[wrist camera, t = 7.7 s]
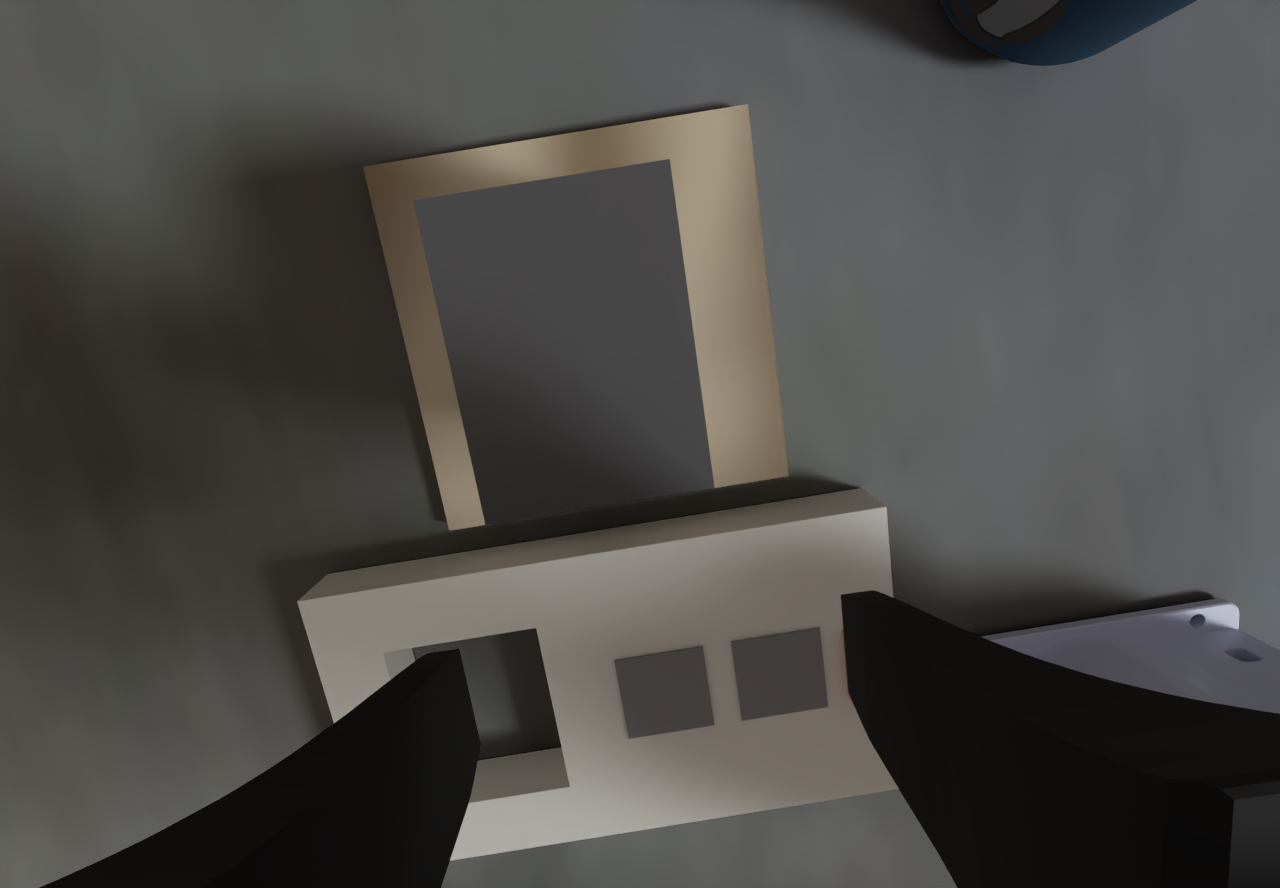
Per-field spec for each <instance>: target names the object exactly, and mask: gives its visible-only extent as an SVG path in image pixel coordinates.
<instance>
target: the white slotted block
mask: <svg viewBox="0 0 1280 888" xmlns="http://www.w3.org/2000/svg"><path fill="white" fill-rule="evenodd" d="M870 590H875V591H878V592H881V593H883V594H886V595H888V596H890V597H893V587H892V574H891V560H890V547H889V534H888V520H887V507H886V506H885V505H883V504H882V503H881V502H879V501H878V500H877V499H875V498H874V497H873V496H871V495H870V494H869V493H867V492H866V491H864V490H863V489H862V488H859V489H852V490H846V491H840V492H834V493H828V494H821V495H815V496H809V497H803V498H797V499H790V500H784V501H778V502H772V503H765V504H759V505H753V506H747V507H741V508H734V509H728V510H722V511H716V512H710V513H703V514H697V515H691V516H685V517H678V518H672V519H666V520H660V521H654V522H647V523H641V524H635V525H629V526H623V527H616V528H610V529H604V530H598V531H592V532H585V533H579V534H573V535H567V536H560V537H554V538H548V539H542V540H536V541H529V542H523V543H517V544H511V545H505V546H498V547H492V548H486V549H480V550H473V551H467V552H461V553H455V554H449V555H442V556H436V557H430V558H424V559H418V560H411V561H405V562H399V563H393V564H387V565H380V566H374V567H368V568H362V569H355V570H349V571H343V572H337V573H331V574H327V575H326V576H325V577H324V578H323V579H322V580H320V581H319V582H318V583H317V584H316V585H315V586H314V587H313V588H312V589H310V590H309V591H308V592H307V593H306V594H305V595H304V596H303V597H302V598H301V599H299V600H298V601H297V603H298V606H299V609H300V613H301V616H302V619H303V623H304V626H305V629H306V633H307V636H308V639H309V643H310V646H311V649H312V653H313V656H314V659H315V663H316V666H317V669H318V672H319V676H320V679H321V682H322V686H323V689H324V692H325V696H326V699H327V702H328V706H329V709H330V712H331V716H332V719H333V722H334V723H335V722H337V721H338V720H339V719H341V718H342V717H343V716H345V715H346V714H347V713H349V712H350V711H351V710H353V709H354V708H355V707H356V706H358V705H359V704H360V703H362V702H363V701H364V700H365V699H367V698H368V697H369V696H370V695H372V694H373V693H374V692H376V691H377V690H378V689H379V688H381V687H382V686H383V685H385V684H386V683H387V682H388V681H390V680H391V679H392V678H393V677H395V676H396V675H397V674H399V673H400V672H401V671H403V670H404V669H405V668H406V667H408V666H409V665H411V664H412V663H413V662H415V658H414V654H413V651H412V648H415V647H421V646H427V645H433V644H440V643H446V642H452V641H458V640H465V639H471V638H477V637H483V636H489V635H496V634H502V633H508V632H514V631H521V630H527V629H533V628H536V630H537V635H538V639H539V644H540V649H541V653H542V658H543V663H544V668H545V672H546V677H547V682H548V686H549V691H550V696H551V700H552V705H553V710H554V714H555V719H556V724H557V729H558V733H559V738H560V743H561V747H560V748H553V749H547V750H541V751H535V752H529V753H522V754H516V755H510V756H504V757H497V758H491V759H485V760H479V761H478V762H477V767H476V773H475V778H474V783H473V788H472V792H471V797H470V800H469V804H468V807H467V810H466V813H465V816H464V819H463V822H462V825H461V828H460V831H459V834H458V838H457V841H456V844H455V847H454V850H453V853H452V855H451V858H450V861H451V860H458V859H464V858H470V857H476V856H483V855H489V854H495V853H501V852H508V851H514V850H520V849H527V848H533V847H539V846H545V845H552V844H558V843H564V842H570V841H577V840H583V839H589V838H595V837H602V836H608V835H614V834H620V833H627V832H633V831H639V830H645V829H652V828H658V827H664V826H670V825H677V824H683V823H689V822H695V821H702V820H708V819H714V818H721V817H727V816H733V815H739V814H746V813H752V812H758V811H764V810H771V809H777V808H783V807H789V806H796V805H802V804H808V803H814V802H821V801H827V800H833V799H839V798H846V797H852V796H858V795H864V794H871V793H877V792H883V791H889V790H896V789H899V788H898V787H897V785H896V783H895V782H894V780H893V779H892V777H891V775H890V774H889V772H888V770H887V769H886V767H885V765H884V764H883V762H882V760H881V759H880V757H879V755H878V754H877V752H876V750H875V749H874V747H873V745H872V743H871V742H870V740H869V738H868V736H867V733H866V731H865V729H864V727H863V725H862V723H861V720H860V718H859V716H858V714H857V711H856V709H855V707H854V704H853V702H852V700H851V697H850V695H849V693H848V682H847V670H846V657H845V644H844V632H843V619H842V607H841V595H842V594H849V593H856V592H863V591H870Z"/></svg>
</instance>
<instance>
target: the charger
mask: <svg viewBox="0 0 1280 888" xmlns="http://www.w3.org/2000/svg"><path fill="white" fill-rule="evenodd" d="M413 202H414V207H415V211H416V216H417V220H418V225H419V229H420V234H421V238H422V243H423V247H424V252H425V256H426V261H427V265H428V270H429V274H430V279H431V283H432V288H433V292H434V297H435V301H436V306H437V310H438V315H439V319H440V324H441V328H442V332H443V337H444V341H445V346H446V350H447V355H448V359H449V364H450V368H451V373H452V377H453V382H454V386H455V391H456V395H457V400H458V404H459V409H460V413H461V418H462V422H463V427H464V431H465V436H466V440H467V445H468V449H469V454H470V458H471V463H472V467H473V472H474V476H475V481H476V485H477V490H478V494H479V499H480V503H481V508H482V512H483V517H484V521H485V525H488V524H494V523H500V522H507V521H513V520H519V519H525V518H532V517H538V516H544V515H550V514H556V513H563V512H569V511H575V510H581V509H588V508H594V507H600V506H606V505H613V504H619V503H625V502H631V501H638V500H644V499H650V498H656V497H663V496H669V495H675V494H681V493H687V492H694V491H700V490H706V489H712V488H715V487H714V480H713V472H712V465H711V458H710V450H709V443H708V436H707V428H706V421H705V414H704V406H703V399H702V392H701V384H700V377H699V370H698V362H697V355H696V348H695V340H694V333H693V326H692V318H691V311H690V304H689V296H688V289H687V282H686V274H685V267H684V260H683V252H682V245H681V238H680V230H679V223H678V216H677V208H676V201H675V194H674V186H673V179H672V172H671V164H670V159H666V160H660V161H653V162H647V163H641V164H635V165H629V166H622V167H616V168H610V169H604V170H598V171H591V172H585V173H579V174H573V175H567V176H560V177H554V178H548V179H542V180H536V181H529V182H523V183H517V184H511V185H505V186H499V187H492V188H486V189H480V190H474V191H468V192H461V193H455V194H449V195H443V196H437V197H430V198H424V199H418V200H413Z"/></svg>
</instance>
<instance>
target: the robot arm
mask: <svg viewBox="0 0 1280 888" xmlns="http://www.w3.org/2000/svg"><path fill="white" fill-rule="evenodd" d="M841 607H842V619H843V632H844V644H845V657H846V670H847V682H848V693H849V695H850V697H851V700H852V702H853V704H854V707H855V709H856V711H857V714H858V716H859V718H860V720H861V723H862V725H863V727H864V729H865V731H866V733H867V736H868V738H869V740H870V742H871V743H872V745H873V747H874V749H875V750H876V752H877V754H878V755H879V757H880V759H881V760H882V762H883V764H884V765H885V767H886V769H887V770H888V772H889V774H890V775H891V777H892V779H893V780H894V782H895V783H896V785H897V787H898V788H899V790H900V792H901V793H902V795H903V796H904V798H905V800H906V801H907V803H908V805H909V806H910V808H911V809H912V811H913V813H914V814H915V816H916V818H917V819H918V821H919V822H920V824H921V826H922V827H923V829H924V831H925V832H926V834H927V836H928V837H929V839H930V840H931V842H932V844H933V845H934V847H935V849H936V850H937V852H938V853H939V855H940V857H941V859H942V861H943V862H944V864H945V866H946V868H947V869H948V871H949V873H950V875H951V877H952V878H953V880H954V882H955V884H956V886H957V888H1280V651H1279V650H1277V649H1275V648H1273V647H1271V646H1269V645H1268V644H1266V643H1264V642H1262V641H1260V640H1258V639H1256V638H1254V637H1252V636H1250V635H1248V634H1246V633H1244V632H1242V631H1240V630H1238V628H1239V609H1238V607H1237V606H1236V605H1235V604H1233V603H1231V602H1229V601H1227V600H1224V599H1212V600H1206V601H1199V602H1193V603H1187V604H1181V605H1174V606H1168V607H1162V608H1156V609H1149V610H1143V611H1137V612H1131V613H1124V614H1118V615H1112V616H1106V617H1100V618H1093V619H1087V620H1081V621H1075V622H1068V623H1062V624H1056V625H1050V626H1043V627H1037V628H1031V629H1025V630H1018V631H1012V632H1006V633H1000V634H993V635H987V636H981V637H980V636H978V635H975V634H973V633H970V632H968V631H966V630H963V629H961V628H959V627H957V626H954V625H952V624H950V623H948V622H945V621H943V620H941V619H939V618H937V617H934V616H932V615H930V614H928V613H926V612H923V611H921V610H919V609H917V608H915V607H913V606H910V605H908V604H906V603H904V602H902V601H899V600H897V599H895V598H893V597H890V596H888V595H886V594H883V593H881V592H878V591H875V590H870V591H863V592H856V593H849V594H842V595H841ZM1194 615H1195V616H1194ZM1193 616H1194V618H1193V619H1192V620H1191V618H1192V617H1193ZM1190 620H1191V621H1190ZM480 745H481V744H480V739H479V735H478V730H477V726H476V721H475V717H474V712H473V708H472V704H471V699H470V695H469V690H468V686H467V681H466V677H465V672H464V668H463V663H462V659H461V654H460V650H459V649H455V650H448V651H441V652H434V653H427V654H426V655H424V656H422V657H421V658H419V659H418V660H416V661H415V662H413V663H412V664H411V665H409V666H408V667H406V668H405V669H404V670H403V671H401V672H400V673H399V674H397V675H396V676H395V677H393V678H392V679H391V680H390V681H388V682H387V683H386V684H385V685H383V686H382V687H381V688H379V689H378V690H377V691H376V692H374V693H373V694H372V695H370V696H369V697H368V698H367V699H365V700H364V701H363V702H362V703H360V704H359V705H358V706H356V707H355V708H354V709H353V710H351V711H350V712H349V713H347V714H346V715H345V716H343V717H342V718H341V719H339V720H338V721H337V722H335V723H334V724H332V725H331V726H330V727H328V728H327V729H326V730H324V731H323V732H321V733H320V734H319V735H317V736H316V737H315V738H313V739H312V740H310V741H309V742H308V743H306V744H305V745H304V746H302V747H301V748H299V749H298V750H297V751H295V752H294V753H292V754H291V755H289V756H288V757H286V758H285V759H284V760H282V761H280V762H279V763H277V764H276V765H274V766H273V767H271V768H270V769H268V770H267V771H265V772H264V773H262V774H260V775H259V776H257V777H255V778H254V779H252V780H251V781H249V782H247V783H246V784H244V785H242V786H241V787H239V788H238V789H236V790H234V791H233V792H231V793H229V794H228V795H226V796H224V797H222V798H221V799H219V800H217V801H215V802H213V803H212V804H210V805H208V806H206V807H204V808H202V809H201V810H199V811H197V812H195V813H193V814H191V815H189V816H188V817H186V818H184V819H182V820H180V821H178V822H177V823H175V824H173V825H171V826H169V827H167V828H165V829H164V830H162V831H160V832H158V833H156V834H154V835H152V836H150V837H148V838H146V839H144V840H142V841H140V842H138V843H136V844H134V845H132V846H130V847H128V848H126V849H124V850H122V851H120V852H118V853H116V854H113V855H111V856H109V857H107V858H105V859H103V860H101V861H98V862H96V863H94V864H92V865H90V866H87V867H85V868H83V869H81V870H79V871H76V872H74V873H72V874H70V875H68V876H65V877H63V878H61V879H59V880H56V881H54V882H52V883H49V884H47V885H45V886H42V887H40V888H441V885H442V882H443V879H444V876H445V873H446V870H447V867H448V864H449V861H450V858H451V855H452V853H453V850H454V847H455V844H456V841H457V838H458V834H459V831H460V828H461V825H462V822H463V819H464V816H465V813H466V810H467V807H468V804H469V800H470V797H471V792H472V788H473V783H474V778H475V773H476V767H477V762H478V756H479V750H480Z"/></svg>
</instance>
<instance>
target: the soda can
mask: <svg viewBox="0 0 1280 888" xmlns="http://www.w3.org/2000/svg"><path fill="white" fill-rule="evenodd" d="M940 1H941V4H942V6H943V8H944V10H945V12H946V14H947V15H948V17H949V19H950V20H951V21H952V23H953V24H954V25H955V27H956V28H957V29H958V30H959V31H960V32H961V33H962V34H963V35H964V36H965V37H966V38H967V39H969V40H970V41H971V42H973V43H974V44H976V45H977V46H979V47H981V48H982V49H984V50H986V51H988V52H990V53H992V54H994V55H996V56H998V57H1001V58H1003V59H1006V60H1009V61H1013V62H1017V63H1021V64H1028V65H1040V66H1046V65H1059V64H1066V63H1070V62H1075V61H1078V60H1081V59H1085V58H1088V57H1090V56H1093V55H1095V54H1097V53H1099V52H1101V51H1103V50H1105V49H1107V48H1109V47H1111V46H1113V45H1115V44H1117V43H1118V42H1120V41H1122V40H1124V39H1126V38H1128V37H1130V36H1131V35H1133V34H1135V33H1137V32H1139V31H1141V30H1143V29H1144V28H1146V27H1148V26H1150V25H1152V24H1154V23H1156V22H1158V21H1159V20H1161V19H1163V18H1165V17H1167V16H1169V15H1171V14H1172V13H1174V12H1176V11H1178V10H1180V9H1182V8H1184V7H1185V6H1187V5H1189V4H1191V3H1193V2H1195V1H1197V0H940Z"/></svg>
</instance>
